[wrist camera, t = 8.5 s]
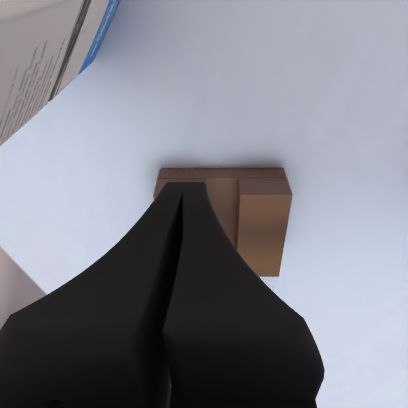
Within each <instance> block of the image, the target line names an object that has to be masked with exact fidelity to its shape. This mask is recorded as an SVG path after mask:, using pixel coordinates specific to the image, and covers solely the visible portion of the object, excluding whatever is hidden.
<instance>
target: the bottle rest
mask: <svg viewBox="0 0 408 408" xmlns="http://www.w3.org/2000/svg"><path fill="white" fill-rule="evenodd" d="M167 182H204V183H205V184H206V188H207V193H208V197H209V200H210V202H211V205H212V208H213V210H214V212H215V214H216V216H217V218H218V220H219V222H220V224H221V226H222V228H223V230H224V231H225V233H226V235H227V236H228V238H229V240H230V241H231V243H232V244H233V246H234V247H235V249H236V250H237V251H238V253H239V254H240V255H241V257H242V258H243V259H244V261H245V262H246V263H247V264H248V266H249V267H250V268H251V269H252V270H253V271H254V272H255V273H256V274H257V276H258V277H278V276H279V272H280V266H281V260H282V254H283V248H284V242H285V236H286V230H287V224H288V218H289V212H290V206H291V200H292V193H291V189H290V186H289V183H288V180H287V178H286V174H285V171H284V169H283V168H226V169H160V170H159V174H158V179H157V183H156V187H155V191H154V195H153V197H154V200H155V198H156V197H157V196H158V194H159V193H160V191H161V190H162V188H163V187H164V185H165V184H166V183H167Z"/></svg>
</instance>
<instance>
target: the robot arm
mask: <svg viewBox="0 0 408 408" xmlns="http://www.w3.org/2000/svg"><path fill="white" fill-rule="evenodd" d="M323 378H324V366H323V362H322V359H321V356H320V353H319V350H318V348H317V345H316V343H315V340H314V338H313V336H312V334H311V332H310V330H309V328H308V326H307V324H306V322H305V320H304V318H303V317H301V316H300V315H299V314H298V313H297V312H295V311H294V310H293V309H292V308H290V307H289V306H288V305H287V304H286V303H285V302H284V301H282V300H281V299H280V298H279V297H278V296H277V295H276V294H275V293H274V292H273V291H272V290H271V289H270V288H269V287H268V286H267V285H266V284H265V283H264V282H263V281H262V280H261V279H260V278H259V277H258V276H257V274H256V273H255V272H254V271H253V270H252V269H251V268H250V267H249V266H248V264H247V263H246V262H245V261H244V259H243V258H242V257H241V255H240V254H239V253H238V251H237V250H236V249H235V247H234V246H233V244H232V243H231V241H230V240H229V238H228V236H227V235H226V233H225V231H224V230H223V228H222V226H221V224H220V222H219V220H218V218H217V216H216V214H215V212H214V210H213V208H212V205H211V202H210V200H209V197H208V193H207V188H206V184H205V183H204V182H167V183H166V184H165V185H164V187H163V188H162V190H161V191H160V193H159V194H158V196H157V197H156V198H155V200H154V201H153V203H152V204H151V205H150V207H149V208H148V209H147V210H146V212H145V213H144V214H143V215H142V217H141V218H140V219H139V220H138V221H137V223H136V224H135V225H134V226H133V227H132V228H131V229H130V230H129V231H128V233H127V234H126V235H125V236H124V237H123V238H122V239H121V240H120V241H119V242H118V243H117V244H116V245H115V246H114V247H112V248H111V249H110V250H109V251H108V252H107V253H106V254H105V255H104V256H102V257H101V258H100V259H99V260H97V261H96V262H95V263H93V264H92V265H91V266H90V267H88V268H87V269H86V270H84V271H83V272H82V273H80V274H79V275H77V276H76V277H75V278H73V279H72V280H70V281H69V282H67V283H66V284H64V285H62V286H61V287H59V288H58V289H56V290H55V291H53V292H51V293H50V294H48V295H46V296H45V297H43V298H41V299H39V300H37V301H35V302H34V303H32V304H30V305H28V306H27V307H25V308H23V309H21V310H19V311H17V312H15V313H14V314H11V315H10V316H9V318H8V319H7V321H6V322H5V324H4V325H3V327H2V328H1V330H0V408H317V405H316V401H315V399H316V396H317V394H318V391H319V389H320V386H321V383H322V381H323ZM171 385H172V386H171Z"/></svg>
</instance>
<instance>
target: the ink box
mask: <svg viewBox="0 0 408 408" xmlns="http://www.w3.org/2000/svg"><path fill="white" fill-rule="evenodd" d="M119 1H120V0H0V146H1V145H2V144H3V143H4V142H5V141H6V140H8V139H9V138H10V137H11V136H12V135H13V134H14V133H15V132H17V131H18V130H19V129H20V128H21V127H22V126H23V125H24V124H26V123H27V122H28V121H29V120H30V119H31V118H32V117H33V116H34V115H35V114H37V113H38V112H39V111H40V110H41V109H42V108H43V107H44V106H45V105H47V103H48V102H49V101H51V100H52V99H53V98H54V97H55V96H56V95H57V94H58V93H59V92H60V91H61V90H63V89H64V88H65V87H66V86H67V85H68V84H69V83H70V82H71V81H72V80H73V79H75V78H76V77H77V76H78V75H79V74H80V73H81V72H82V71H83V70H84V69H85V68H86V67H87V66H89V65H90V64H91V63H92V62H93V60H94V58H95V56H96V54H97V51H98V49H99V47H100V45H101V43H102V40H103V38H104V36H105V34H106V31H107V29H108V27H109V25H110V22H111V20H112V18H113V16H114V13H115V11H116V9H117V6H118V4H119Z"/></svg>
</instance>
